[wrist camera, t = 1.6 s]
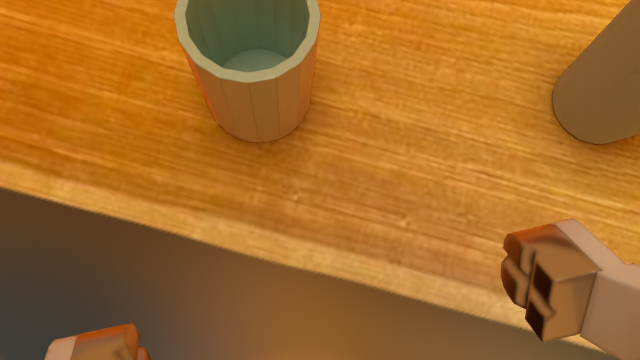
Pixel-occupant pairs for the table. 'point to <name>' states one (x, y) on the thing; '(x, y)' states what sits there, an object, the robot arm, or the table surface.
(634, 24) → the cup
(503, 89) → the table surface
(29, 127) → the table surface
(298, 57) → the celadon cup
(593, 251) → the robot arm
